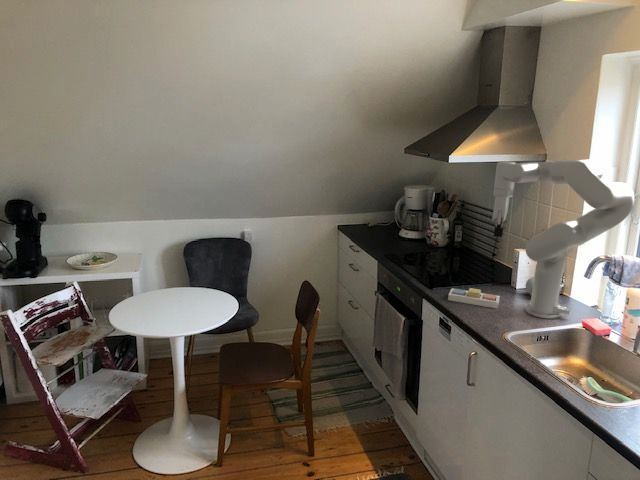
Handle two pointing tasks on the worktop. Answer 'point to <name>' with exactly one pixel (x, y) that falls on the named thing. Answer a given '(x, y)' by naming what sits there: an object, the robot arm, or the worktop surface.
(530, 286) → the ceramic mug
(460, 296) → the panel
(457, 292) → the slate button
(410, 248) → the worktop surface
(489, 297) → the terracotta button
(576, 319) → the worktop surface
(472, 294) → the mustard button
